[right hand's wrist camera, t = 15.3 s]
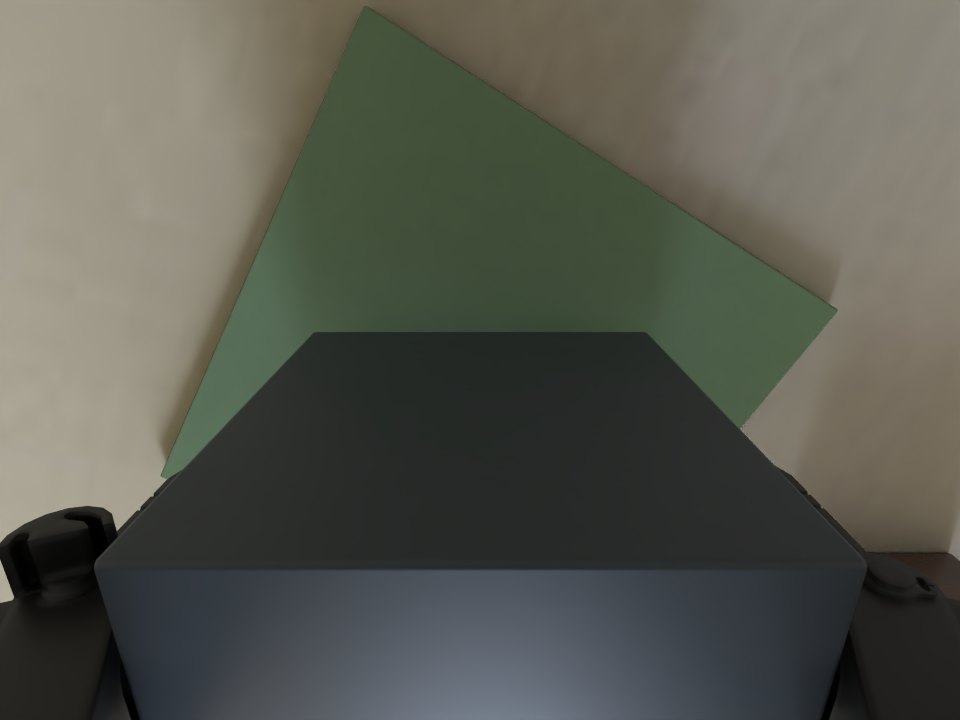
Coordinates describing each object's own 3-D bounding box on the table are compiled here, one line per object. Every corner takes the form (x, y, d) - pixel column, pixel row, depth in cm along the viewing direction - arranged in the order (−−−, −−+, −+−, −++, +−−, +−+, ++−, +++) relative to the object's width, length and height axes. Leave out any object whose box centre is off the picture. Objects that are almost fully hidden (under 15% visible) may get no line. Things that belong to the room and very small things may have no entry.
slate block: (312, 331, 13) (87, 563, 6) (647, 330, 13) (874, 563, 6) (332, 507, 15) (180, 866, 7) (628, 507, 15) (780, 866, 7)
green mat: (367, 9, 12) (364, 4, 12) (830, 306, 15) (838, 310, 15) (166, 469, 17) (159, 476, 16) (553, 643, 19) (554, 653, 19)
